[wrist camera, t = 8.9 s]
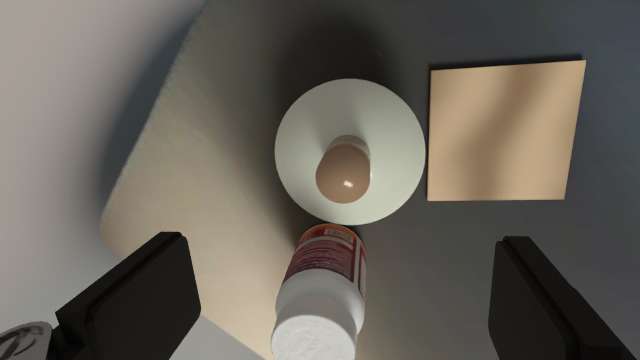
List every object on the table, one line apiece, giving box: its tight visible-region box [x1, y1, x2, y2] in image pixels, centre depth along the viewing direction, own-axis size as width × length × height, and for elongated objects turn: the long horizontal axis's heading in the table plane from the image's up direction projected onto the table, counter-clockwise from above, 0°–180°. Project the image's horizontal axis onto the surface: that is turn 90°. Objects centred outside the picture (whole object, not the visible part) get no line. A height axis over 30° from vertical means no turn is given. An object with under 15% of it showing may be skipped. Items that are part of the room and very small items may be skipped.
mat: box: [427, 60, 586, 201], centre depth 26 cm, size 10×10×1 cm
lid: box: [275, 79, 425, 225], centre depth 22 cm, size 10×10×5 cm
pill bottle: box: [271, 223, 366, 360], centre depth 26 cm, size 6×6×11 cm
